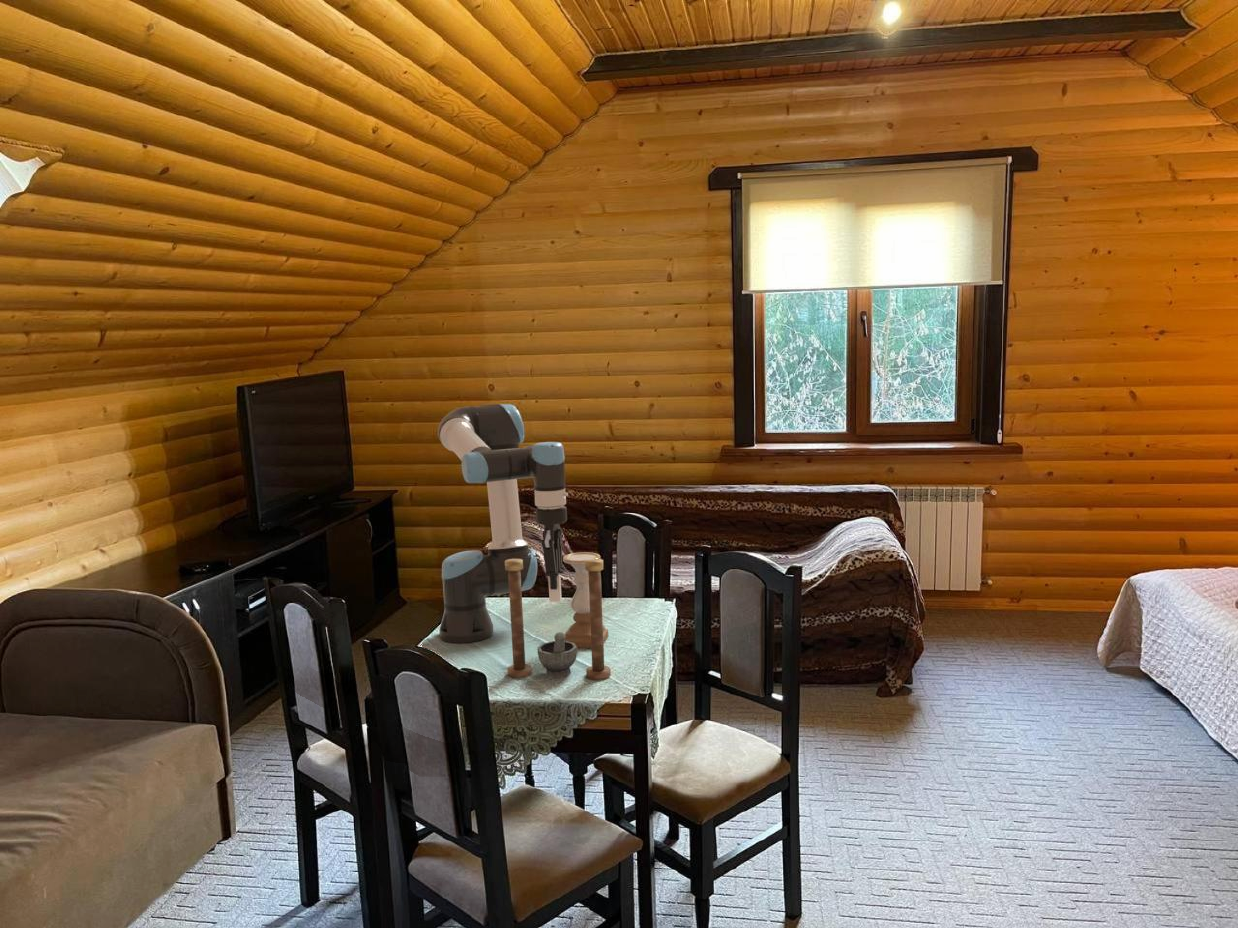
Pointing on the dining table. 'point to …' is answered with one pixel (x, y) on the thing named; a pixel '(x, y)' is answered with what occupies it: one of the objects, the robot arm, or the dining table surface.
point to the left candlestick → (516, 620)
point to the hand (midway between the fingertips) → (555, 600)
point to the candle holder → (581, 602)
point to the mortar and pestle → (557, 656)
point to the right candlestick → (596, 621)
